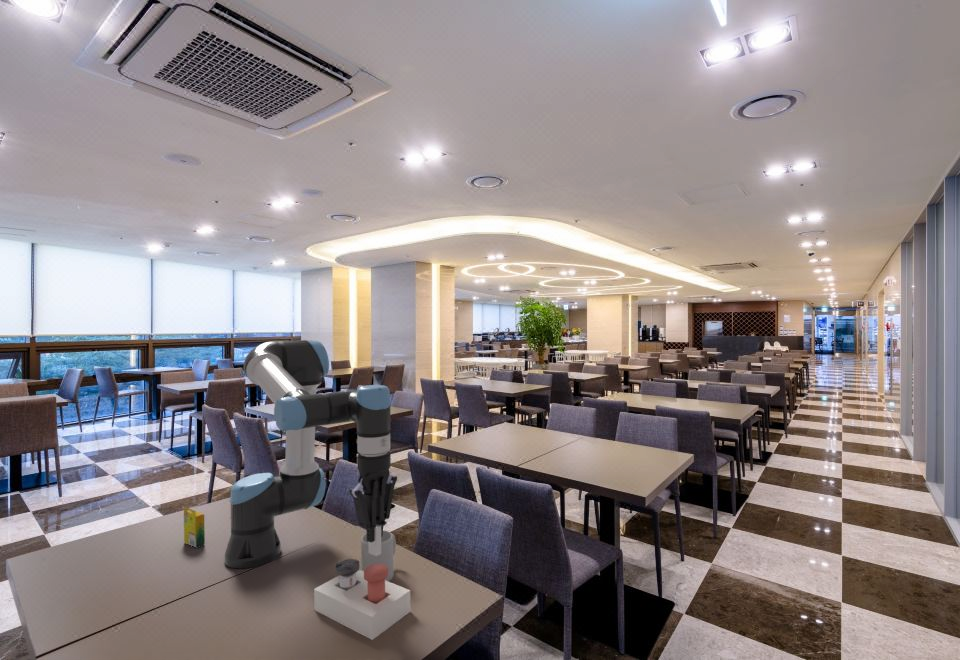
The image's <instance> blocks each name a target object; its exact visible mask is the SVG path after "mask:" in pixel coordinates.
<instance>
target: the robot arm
mask: <svg viewBox="0 0 960 660" xmlns="http://www.w3.org/2000/svg"><path fill="white" fill-rule="evenodd" d="M243 371H244V375H245V376H246V377H247V379H248V380H249V381H250V382H251V383H252V384H254V385H256V386H259V387H260V389H261V390H262V391H263V392H264V393H265V395H267V397H268V398H269V399H270V400H271V402H272V403H273V404H274V408H273V417H274V421H275V425H276V427H277V429H279V430H280V431H282V432H285V459H284V460H285V461H284V464H283V465H281V466H280V467H279V475H277V476H275V475H273V473H271V472H263V473H261V472H260V473H254V474H250V475H249V476H245V477H243V478H240V479H239V480H238V481H236V482H235V483H234V484H233V485H232V486H231V488H230V498H229V504H230V537H229V540H228V541H227V542H228V543H227V546H226V549H225V552H224V565H226V566H227V567H228V568H232V569H248V568H254V567H257V566H261V565H264V564H266V563H269V562H270V561H273V560H274V559H276V558H277V557H278V556H279V555H280V553H281V551H282V550H281V549H282V548H281V547H282V545H281V544H282V543H281V541H280V538H279V536H278V532H277V530H276V527H275V517H277V516H282V515H286V514H289V513H292V512H296V511H297V512H298V511H301V510H306V509H309V508H310V507H315V506H317V505H319V504H320V503H321V502H322V500H323V498H324V497H325V493H326V485H327V484H326V481H327V480H326V479H325V478H326V476H325V472H324V470H323V469H322V468H321V467H320V466H319V463H318V462H316V461H315V442H316V440H315V439H316V438H315V437H316V427H320V426H321V427H322V426H328V425H329V426H330V425H334V424H335V425H336V424H337V425H338V424H342V423H349V422H350V423H351V422H353V423H356V426H357V428H356V430H357V431H356V434H357V439H356V442H357V449H356V450H357V453H358V454H357V470H358V472H359V475H358V476H359V477H358V480H357V482H358V483H357V484H356V486H355V487H354V488H353V487H351V488H350V489H349V494H350V495H351V497H352V498H353V499H352V500H353V503H354V508H355V512H356V513H355V514H356V517H357V522H358V526H359V527H362V528H364V529H366V534H367V541H368V552H369V553H370V554H372V555H375V556H378V555H380V554H381V537H382V536H383V531H384V526H385V525H386V524H387V521H386V520H388V519H390V517H391V510H392V503H393V497H394V490H395V486H396V483H397V482H398V481H397V480H398V476H397V475H393V474H391V472H390V468H391V464H392V461H391V460H392V459H391V456H392V455H391V452H390V450H391V404H392V401H391V394H390V391H391V390H390V388H389V387H388V386H387V385H381V384H379V385H378V384H368V385H363V386H360V387H358V388H357V389H355V388H350V389H349V388H346V389H342V390H339V391H335V392H328V393H327V392H324V393H317V388H318V387H319V386H321V384H322V378H324V377H326V376H327V375H328V374H329V371H330V359H329V355H328V351H327V350H326V347H325V346H324V345H323V343H321V342H320V341H318V340H309V339H303V340H302V339H300V340H297V339H296V340H278V341H277V340H272V341H271V340H270V341H266V342H262V343H260V344H258V345H256V346H255V347H254V348H253V349H251V350H250V352H248V354H247V355H246V356H245V359H244V362H243Z"/></svg>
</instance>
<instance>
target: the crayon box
mask: <svg viewBox="0 0 960 660" xmlns="http://www.w3.org/2000/svg"><path fill="white" fill-rule="evenodd" d="M183 533H184V534H183V543H184V542H185V543H187V544H189V545H191V546H190V547H192V546H194V547H198V548H200V547H202V546H201V545H203V546H205V545H206V543H205V538H206V537H205V535H206V534H205V514H204V513H201V512H198V511H196V510H194V509H192V508H188V507H185V506H184V508H183ZM187 544H186V545H187ZM204 544H205V545H204ZM189 545H188V546H189ZM199 546H200V547H199ZM194 547H193V548H194Z"/></svg>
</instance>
